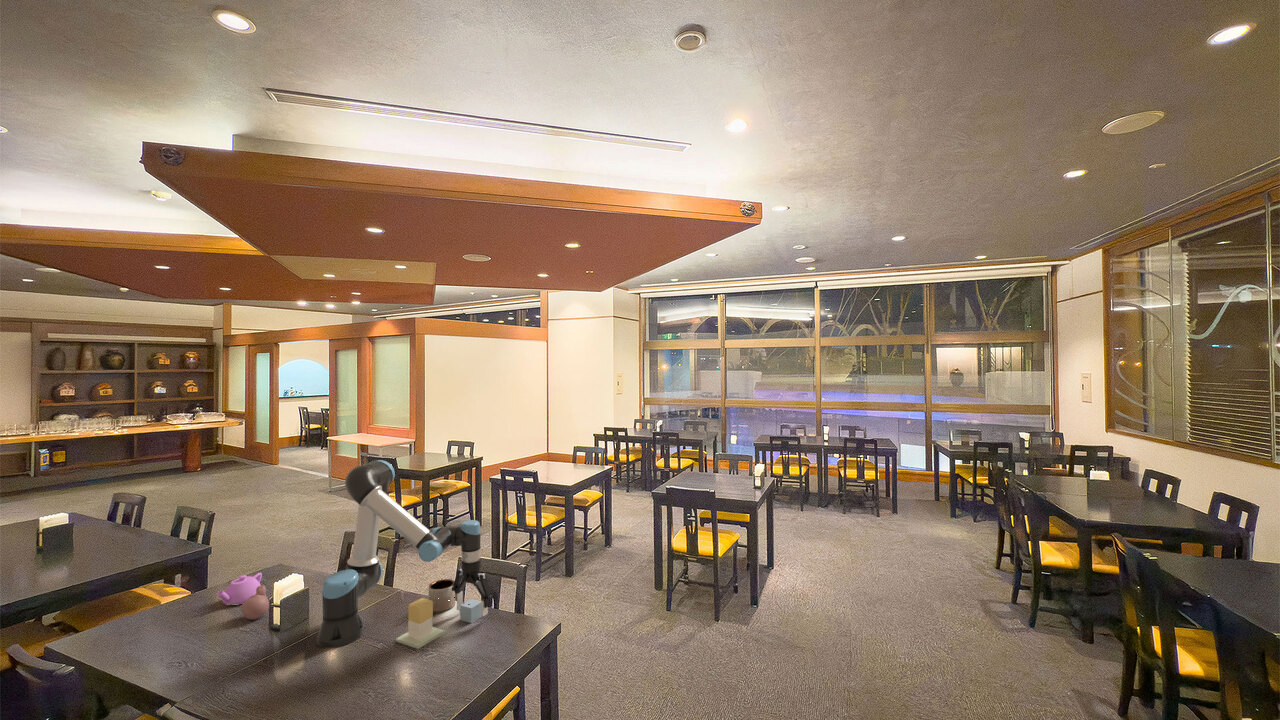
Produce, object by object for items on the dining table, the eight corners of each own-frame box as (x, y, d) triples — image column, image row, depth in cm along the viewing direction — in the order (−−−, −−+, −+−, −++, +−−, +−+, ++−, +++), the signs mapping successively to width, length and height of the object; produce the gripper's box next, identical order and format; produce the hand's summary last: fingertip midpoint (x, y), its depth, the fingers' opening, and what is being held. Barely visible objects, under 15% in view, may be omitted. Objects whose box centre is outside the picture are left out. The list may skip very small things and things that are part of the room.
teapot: (204, 610, 209) (204, 585, 209) (248, 590, 229) (248, 567, 229) (232, 613, 207) (232, 587, 207) (274, 591, 226) (274, 568, 227)
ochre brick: (408, 620, 185) (408, 604, 185) (421, 613, 190) (421, 597, 190) (419, 624, 182) (419, 607, 182) (432, 616, 187) (432, 600, 188)
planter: (449, 612, 205) (449, 589, 205) (423, 613, 205) (423, 590, 205) (459, 600, 215) (459, 578, 216) (434, 600, 216) (434, 578, 216)
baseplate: (395, 641, 183) (395, 622, 183) (422, 626, 194) (422, 608, 194) (418, 649, 178) (418, 629, 178) (444, 632, 189) (444, 614, 189)
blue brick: (460, 620, 198) (460, 605, 199) (471, 613, 204) (471, 599, 204) (471, 623, 196) (471, 608, 196) (482, 616, 201) (482, 601, 201)
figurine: (254, 611, 208) (254, 582, 208) (274, 614, 205) (274, 585, 205) (232, 621, 199) (232, 592, 199) (253, 624, 196) (253, 594, 197)
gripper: (442, 558, 202) (442, 610, 202) (487, 567, 192) (488, 622, 191) (456, 552, 209) (457, 602, 209) (501, 560, 198) (502, 613, 198)
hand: (472, 611), depth 200 cm, fingers open, 13 cm apart
